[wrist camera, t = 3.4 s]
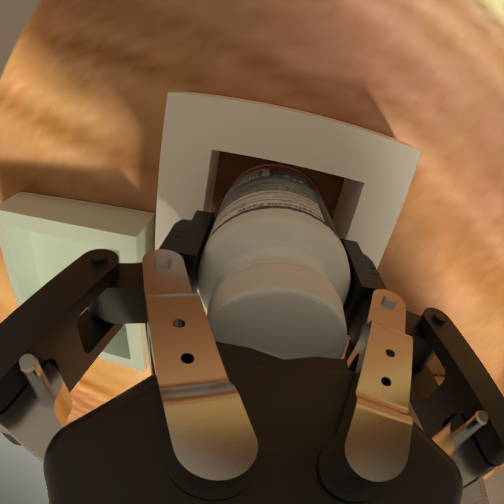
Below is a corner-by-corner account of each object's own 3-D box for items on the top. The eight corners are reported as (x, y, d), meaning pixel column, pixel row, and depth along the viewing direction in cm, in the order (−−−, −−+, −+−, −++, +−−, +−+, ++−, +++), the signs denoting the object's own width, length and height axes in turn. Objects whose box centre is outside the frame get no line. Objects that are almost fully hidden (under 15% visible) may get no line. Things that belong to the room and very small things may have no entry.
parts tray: (155, 212, 17) (136, 237, 14) (155, 342, 22) (145, 371, 20) (19, 191, 16) (-8, 208, 14) (44, 309, 22) (27, 331, 19)
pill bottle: (316, 254, 18) (346, 399, 9) (224, 250, 18) (188, 393, 9) (327, 164, 15) (396, 268, 6) (223, 159, 15) (161, 258, 7)
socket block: (396, 138, 14) (421, 150, 11) (336, 303, 19) (344, 335, 17) (186, 91, 13) (167, 92, 11) (168, 273, 19) (154, 303, 16)
